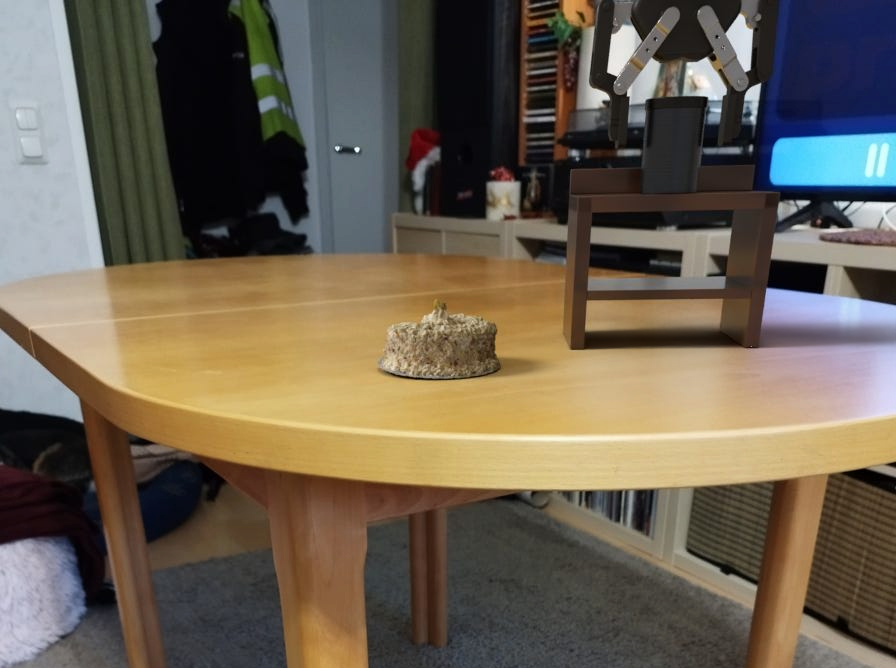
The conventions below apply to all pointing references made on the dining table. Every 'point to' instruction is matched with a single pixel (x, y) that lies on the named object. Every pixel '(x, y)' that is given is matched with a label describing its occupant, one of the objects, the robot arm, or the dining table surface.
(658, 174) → the spice tin
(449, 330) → the cake
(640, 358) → the dining table surface
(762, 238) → the spice rack
